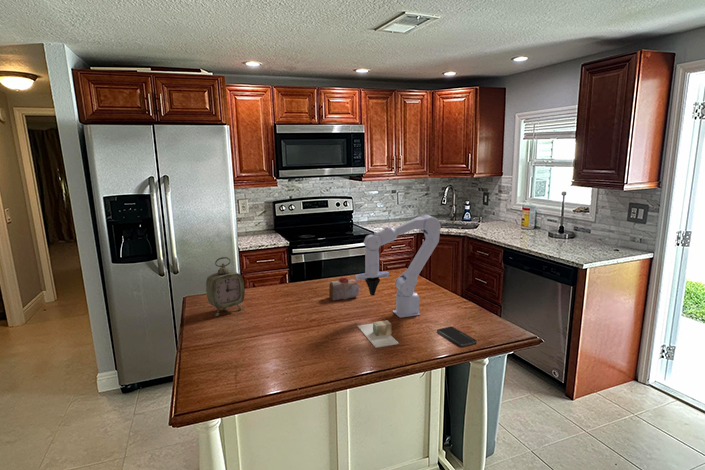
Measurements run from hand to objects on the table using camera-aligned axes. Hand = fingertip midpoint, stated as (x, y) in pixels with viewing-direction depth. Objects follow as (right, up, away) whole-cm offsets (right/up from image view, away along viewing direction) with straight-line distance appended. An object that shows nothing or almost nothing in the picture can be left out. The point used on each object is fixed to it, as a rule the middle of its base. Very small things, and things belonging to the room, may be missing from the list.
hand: (372, 294), depth 173 cm
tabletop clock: (-65, -9, +10) cm, 66 cm away
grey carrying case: (-12, -5, +26) cm, 29 cm away
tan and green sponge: (+6, -10, -16) cm, 20 cm away
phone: (+30, -13, -20) cm, 39 cm away
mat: (+1, -13, -17) cm, 21 cm away
